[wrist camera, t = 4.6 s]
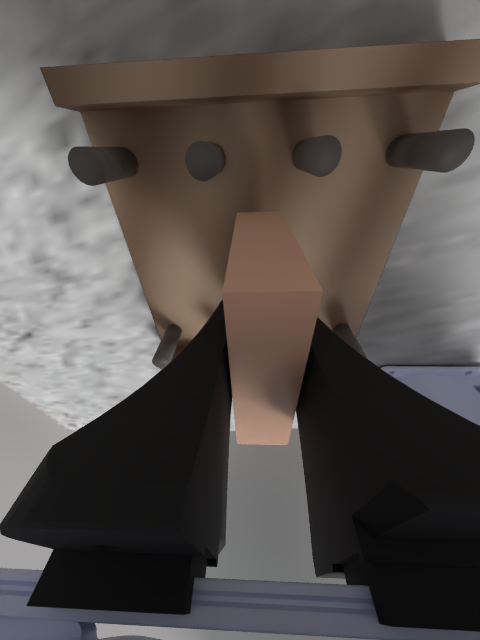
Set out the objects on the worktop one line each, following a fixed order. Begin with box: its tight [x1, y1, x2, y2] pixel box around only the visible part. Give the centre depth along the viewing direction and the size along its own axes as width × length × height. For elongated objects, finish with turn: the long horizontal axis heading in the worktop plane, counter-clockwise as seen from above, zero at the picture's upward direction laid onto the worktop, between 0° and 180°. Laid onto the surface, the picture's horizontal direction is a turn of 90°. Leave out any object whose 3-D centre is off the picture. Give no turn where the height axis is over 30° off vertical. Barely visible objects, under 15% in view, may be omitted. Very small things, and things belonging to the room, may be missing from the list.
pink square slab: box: [222, 211, 323, 445], centre depth 9 cm, size 2×7×7 cm, turn 2°
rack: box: [40, 39, 480, 369], centre depth 13 cm, size 16×17×5 cm
